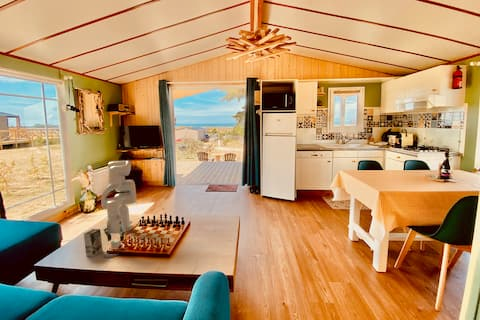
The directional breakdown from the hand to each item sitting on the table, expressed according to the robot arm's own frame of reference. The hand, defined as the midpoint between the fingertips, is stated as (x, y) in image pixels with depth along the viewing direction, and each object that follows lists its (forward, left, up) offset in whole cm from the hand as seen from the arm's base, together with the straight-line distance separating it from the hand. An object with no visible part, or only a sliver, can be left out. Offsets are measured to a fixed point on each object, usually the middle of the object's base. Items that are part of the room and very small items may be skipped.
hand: (115, 240), depth 197 cm
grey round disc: (+9, +2, -6) cm, 11 cm away
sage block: (-1, 0, -6) cm, 6 cm away
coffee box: (+7, -12, -7) cm, 16 cm away
